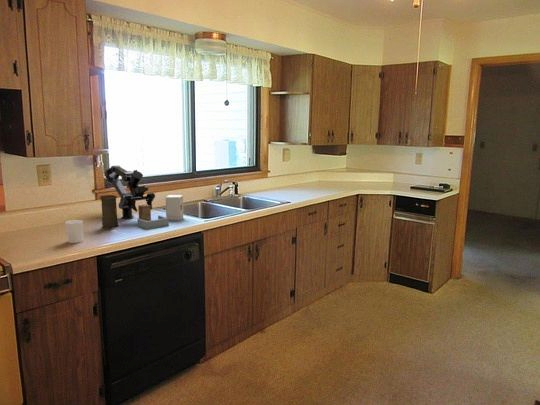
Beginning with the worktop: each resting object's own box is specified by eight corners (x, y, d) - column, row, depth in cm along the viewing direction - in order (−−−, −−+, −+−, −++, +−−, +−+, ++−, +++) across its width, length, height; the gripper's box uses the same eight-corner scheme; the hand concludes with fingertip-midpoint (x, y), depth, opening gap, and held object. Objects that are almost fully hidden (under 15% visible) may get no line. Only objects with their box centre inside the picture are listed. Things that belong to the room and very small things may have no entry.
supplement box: (180, 221, 244) (180, 197, 242) (165, 221, 244) (165, 197, 242) (183, 218, 253) (183, 194, 251) (169, 218, 253) (168, 194, 251)
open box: (137, 227, 229) (137, 218, 229) (159, 223, 239) (159, 215, 238) (146, 230, 222) (146, 221, 221) (168, 226, 232) (168, 218, 231)
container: (104, 230, 221) (102, 198, 218) (99, 227, 228) (97, 195, 225) (121, 228, 227) (119, 196, 224) (115, 225, 234) (114, 194, 231)
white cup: (64, 241, 200) (62, 221, 198) (81, 238, 206) (79, 219, 204) (70, 244, 195) (68, 224, 193) (87, 241, 200) (85, 221, 198)
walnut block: (139, 224, 237) (138, 205, 235) (147, 222, 241) (146, 204, 239) (143, 225, 234) (142, 206, 232) (151, 224, 237) (150, 205, 235)
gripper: (123, 182, 230) (133, 204, 225) (153, 179, 243) (163, 200, 237) (118, 194, 237) (127, 215, 232) (147, 190, 250) (157, 211, 244)
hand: (144, 210), depth 236 cm, fingers open, 9 cm apart
